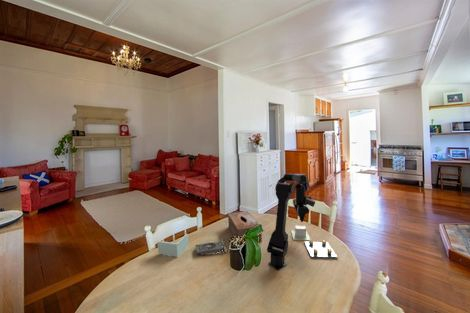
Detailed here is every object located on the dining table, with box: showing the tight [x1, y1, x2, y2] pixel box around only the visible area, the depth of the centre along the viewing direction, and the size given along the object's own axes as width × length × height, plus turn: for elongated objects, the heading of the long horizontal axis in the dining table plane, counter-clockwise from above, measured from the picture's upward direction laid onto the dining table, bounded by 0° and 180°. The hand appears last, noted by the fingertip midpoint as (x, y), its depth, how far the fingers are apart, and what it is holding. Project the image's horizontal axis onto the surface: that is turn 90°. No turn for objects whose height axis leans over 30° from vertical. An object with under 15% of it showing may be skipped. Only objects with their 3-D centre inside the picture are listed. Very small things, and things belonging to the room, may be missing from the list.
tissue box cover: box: [227, 210, 263, 243], centre depth 138 cm, size 26×14×10 cm, turn 15°
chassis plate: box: [303, 239, 338, 260], centre depth 116 cm, size 15×13×3 cm
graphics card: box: [194, 239, 228, 256], centre depth 121 cm, size 17×4×12 cm
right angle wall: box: [157, 233, 189, 258], centre depth 121 cm, size 12×12×8 cm
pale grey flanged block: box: [290, 225, 312, 242], centre depth 133 cm, size 12×10×6 cm
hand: (300, 218), depth 132 cm, fingers open, 9 cm apart
